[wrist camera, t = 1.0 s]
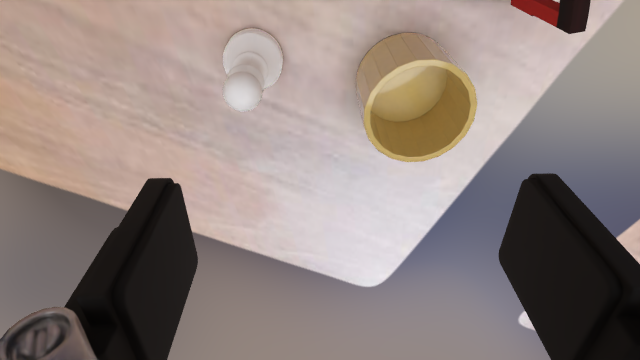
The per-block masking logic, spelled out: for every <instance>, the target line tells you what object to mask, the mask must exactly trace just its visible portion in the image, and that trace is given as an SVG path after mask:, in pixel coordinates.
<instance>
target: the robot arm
mask: <svg viewBox="0 0 640 360" xmlns="http://www.w3.org/2000/svg"><path fill="white" fill-rule="evenodd" d="M499 261H500V264H501V266H502V267H503V270H504V271H505V273H506V275H507V277H508V279H509V281H510V283H511V285H512V286H513V288H514V290H515V292H516V294H517V296H518V298H519V300H520V302H521V304H522V305H523V307H524V309H525V311H526V313H527V315H528V317H529V319H530V321H531V322H532V324H533V326H534V328H535V330H536V332H537V334H538V336H539V338H540V339H541V341H542V343H543V345H544V347H545V349H546V351H547V353H548V355H549V356H550V358H551V360H640V264H639V263H638V262H637V261H636V260H635V259H634V258H633V256H632V255H631V254H630V253H629V252H628V251H627V250H626V249H625V248H624V247H623V246H622V245H621V243H620V242H619V241H618V240H617V239H616V238H615V237H614V236H613V235H612V234H611V233H610V232H609V231H608V229H607V228H606V227H605V226H604V225H603V224H602V223H601V222H600V221H599V220H598V218H597V217H595V215H594V214H593V213H592V212H591V211H590V210H589V209H588V208H587V207H586V205H584V203H583V202H582V201H581V200H580V199H579V198H578V197H577V196H576V195H575V194H574V192H573V191H572V190H571V189H570V188H569V187H568V186H567V185H566V184H565V183H564V182H563V181H562V179H560V177H559V176H558V175H556V174H532V175H530V176H529V178H528V179H525V180H524V181H523V182H522V184H521V187H520V190H519V193H518V196H517V199H516V202H515V205H514V208H513V211H512V214H511V217H510V220H509V223H508V226H507V229H506V232H505V235H504V238H503V241H502V244H501V247H500V250H499ZM197 263H198V257H197V252H196V248H195V244H194V239H193V235H192V231H191V227H190V223H189V219H188V215H187V210H186V206H185V202H184V198H183V194H182V190H181V186H180V185H179V184H178V183H174V182H173V180H172V179H171V178H150V179H148V180H147V181H146V183H145V184H144V186H143V188H142V189H141V191H140V193H139V194H138V196H137V197H136V199H135V201H134V202H133V204H132V206H131V207H130V209H129V210H128V212H127V214H126V215H125V217H124V219H123V220H122V222H121V223H120V225H119V227H117V228H115V229H114V230H113V231H112V232H111V234H110V235H109V237H108V238H107V240H106V241H105V243H104V245H103V246H102V248H101V250H100V251H99V253H98V254H97V256H96V257H95V259H94V261H93V262H92V264H91V265H90V267H89V269H88V270H87V272H86V273H85V275H84V276H83V278H82V280H81V282H80V283H79V284H78V286H77V288H76V289H75V291H74V292H73V294H72V296H71V297H70V299H69V300H68V302H67V304H66V305H65V307H52V308H46V309H42V310H39V311H37V312H34V313H31V314H30V315H28V316H26V317H24V318H23V319H21V320H19V321H18V322H17V323H16V324H14V325H13V326H12V327H11V328H9V329H8V330H7V332H6V333H5V334H4V335H3V337H2V338H1V339H0V360H167V358H168V355H169V352H170V348H171V345H172V342H173V339H174V336H175V333H176V330H177V327H178V324H179V321H180V318H181V315H182V312H183V308H184V305H185V302H186V299H187V296H188V293H189V290H190V287H191V284H192V281H193V278H194V275H195V272H196V269H197Z"/></svg>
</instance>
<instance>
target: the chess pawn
mask: <svg viewBox="0 0 640 360" xmlns="http://www.w3.org/2000/svg"><path fill="white" fill-rule="evenodd" d="M223 66H224V69H225V72H226V74H227V79H226V80H225V82H224V85H223V89H222V90H223V97H224V100H225V101H226V103H227V104H228V105H229V106H230V107H231V108H232V109H234V110H237V111H242V112H245V111H250V110H252V109H254V108H255V107H256V106H257V105H258V104H259V102H260V101H261V98H262V92H263V91H264V89H266V88H268V87H270V86H272V85H273V84H274V83H275V82H276V81H277V79H278V78H279V76H280V74H281V71H282V66H283V54H282V50H281V48H280V46H279V44H278V42H277V41H276V40H275V38H274V37H273V36H271V35H270V34H269V33H267V32H265V31H263V30H260V29H254V28H249V29H243V30H241V31H239V32H237V33H236V34H234V35H233V36H232V37H231V38H230V40H229V42H228V43H227V45H226V47H225V49H224V53H223Z"/></svg>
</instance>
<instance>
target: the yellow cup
mask: <svg viewBox="0 0 640 360" xmlns="http://www.w3.org/2000/svg"><path fill="white" fill-rule="evenodd" d="M356 94H357V98H358V103H359V107H360V111H361V115H362V119H363V124H364V127H365V130H366V133H367V136H368V139H369V140H370V141H371V143H372V144H373V145H374V146H375V148H376V149H377V150H378V151H380V152H381V153H383V154H385V155H386V156H388V157H390V158H392V159H396V160H400V161H404V162H419V161H425V160H428V159H432V158H435V157H438V156H440V155H442V154H443V153H445V152H447V151H448V150H450V149H452V148H453V147H454V146H455V145H456V144H457V143H458V142H459V141H460V140H461V139H462V138H463V137H464V136H465V135H466V134H467V132H468V130H469V128H470V126H471V125H472V123H473V121H474V117H475V112H476V107H477V99H476V93H475V87H474V86H473V84H472V82H471V81H470V79H469V77H468V76H467V74H466V73H465V72H464V71H463V70H462V69H461V67H460V66H459V65H458V64H457V63H456V62H455V61H454V60H453V58H452V57H451V56H450V55H449V54H448V53H447V52H446V50H445V49H444V48H443V47H442V46H440V45H439V44H438V43H437V42H436V41H434V40H433V39H431V38H430V37H428V36H425V35H422V34H418V33H400V34H396V35H393V36H390V37H387V38H385V39H383V40H382V41H380V42H379V43H377V44H376V45H375V46H374V47H372V48H371V49H370V50H369V52H368V53H367V54H366V55H365V57H364V58H363V60H362V62H361V64H360V66H359V68H358V71H357V76H356Z"/></svg>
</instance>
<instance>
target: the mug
mask: <svg viewBox="0 0 640 360" xmlns="http://www.w3.org/2000/svg"><path fill="white" fill-rule="evenodd" d="M511 5H512V6H514V7H516V8H518V9H520V10H522V11H524V12H525V13H527V14H529V15H531V16H536V17H538V18H540V19H542V20H544V21H545V22H547V23H549V24H551V25H553V26H555V27H557V28H559V29H561V30H563V31H564V32H566V33H568V34H572V33H578V32H583V31H585V29H586V24H587V19H588V14H589V7H590V0H560V3H558V2H555V1H553V0H511Z"/></svg>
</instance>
